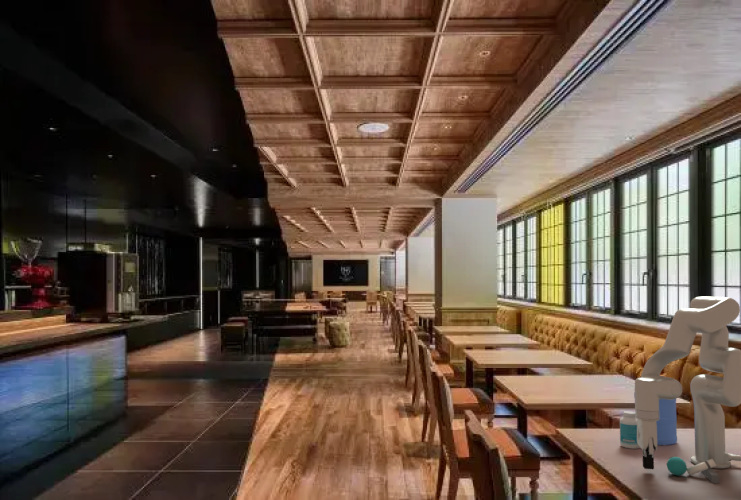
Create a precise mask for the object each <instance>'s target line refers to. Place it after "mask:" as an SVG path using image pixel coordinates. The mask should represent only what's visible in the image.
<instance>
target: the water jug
mask: <svg viewBox="0 0 741 500" xmlns="http://www.w3.org/2000/svg"><path fill="white" fill-rule="evenodd" d="M633 395H634V397H633V398H634V399H635V391H634V394H633ZM677 418H678V417H677V398H676V399H673V400H667V399H659V420H658V421H656V424H657V446H672V445H675V444H677V443H678V436H677V434H678V432H677V428H678V427H677V421H678V419H677Z"/></svg>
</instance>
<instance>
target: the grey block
mask: <svg viewBox="0 0 741 500" xmlns="http://www.w3.org/2000/svg"><path fill="white" fill-rule="evenodd" d="M700 473H702V474H703V475H704V476H705V477H706V478H707V479H708V480H709V481H710V483H712V484H720V476H719V474H718V473H717V472H716V471H715V470H714V468H710V469H707V470H704V471H701V472H700Z"/></svg>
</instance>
